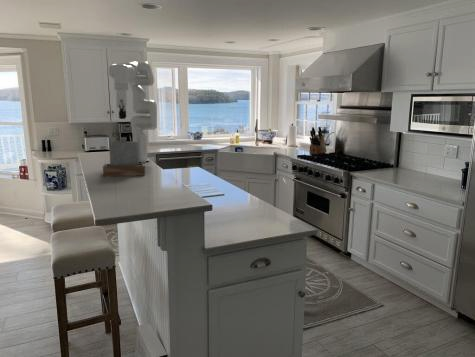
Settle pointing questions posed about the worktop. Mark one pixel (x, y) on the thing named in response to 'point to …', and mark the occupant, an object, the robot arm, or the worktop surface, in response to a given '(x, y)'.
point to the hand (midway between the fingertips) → (122, 118)
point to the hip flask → (123, 153)
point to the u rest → (123, 170)
